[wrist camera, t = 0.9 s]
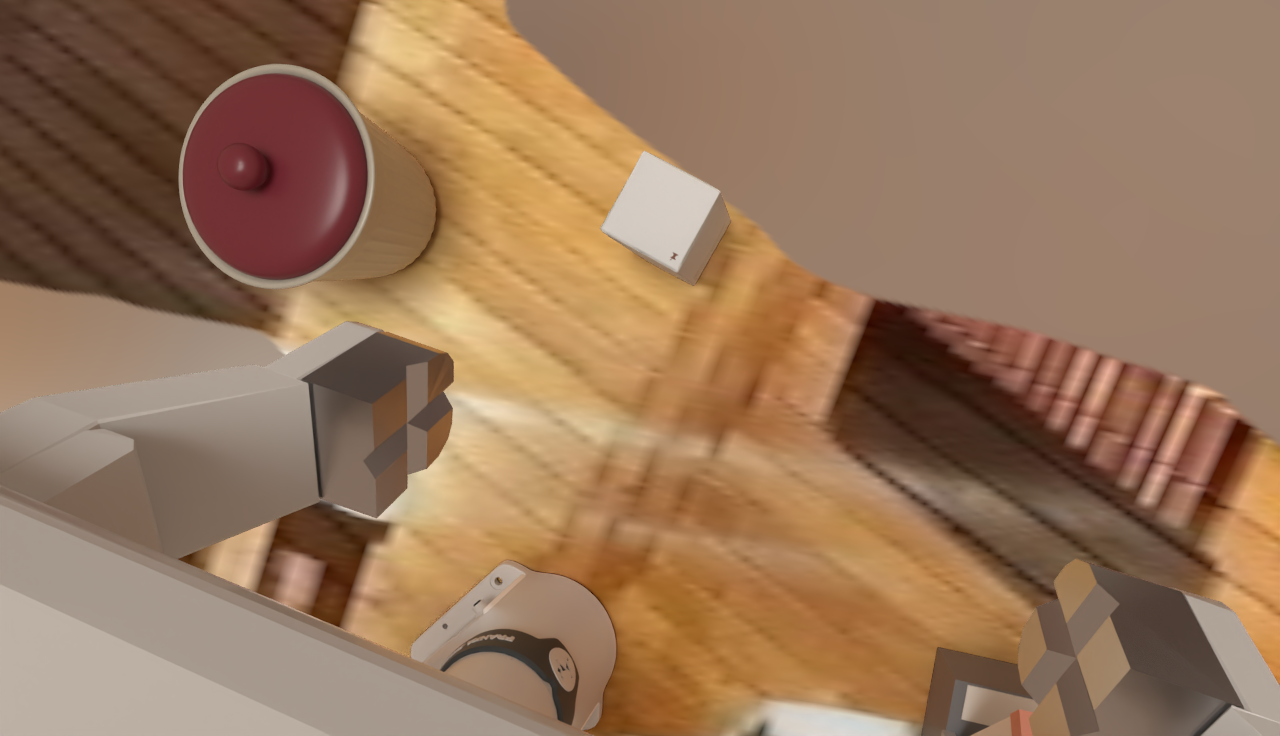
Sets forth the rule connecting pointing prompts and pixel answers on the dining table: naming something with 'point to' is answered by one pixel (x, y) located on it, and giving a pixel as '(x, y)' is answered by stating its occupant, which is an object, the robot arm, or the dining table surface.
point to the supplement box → (668, 218)
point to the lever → (1010, 726)
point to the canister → (299, 184)
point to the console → (972, 694)
